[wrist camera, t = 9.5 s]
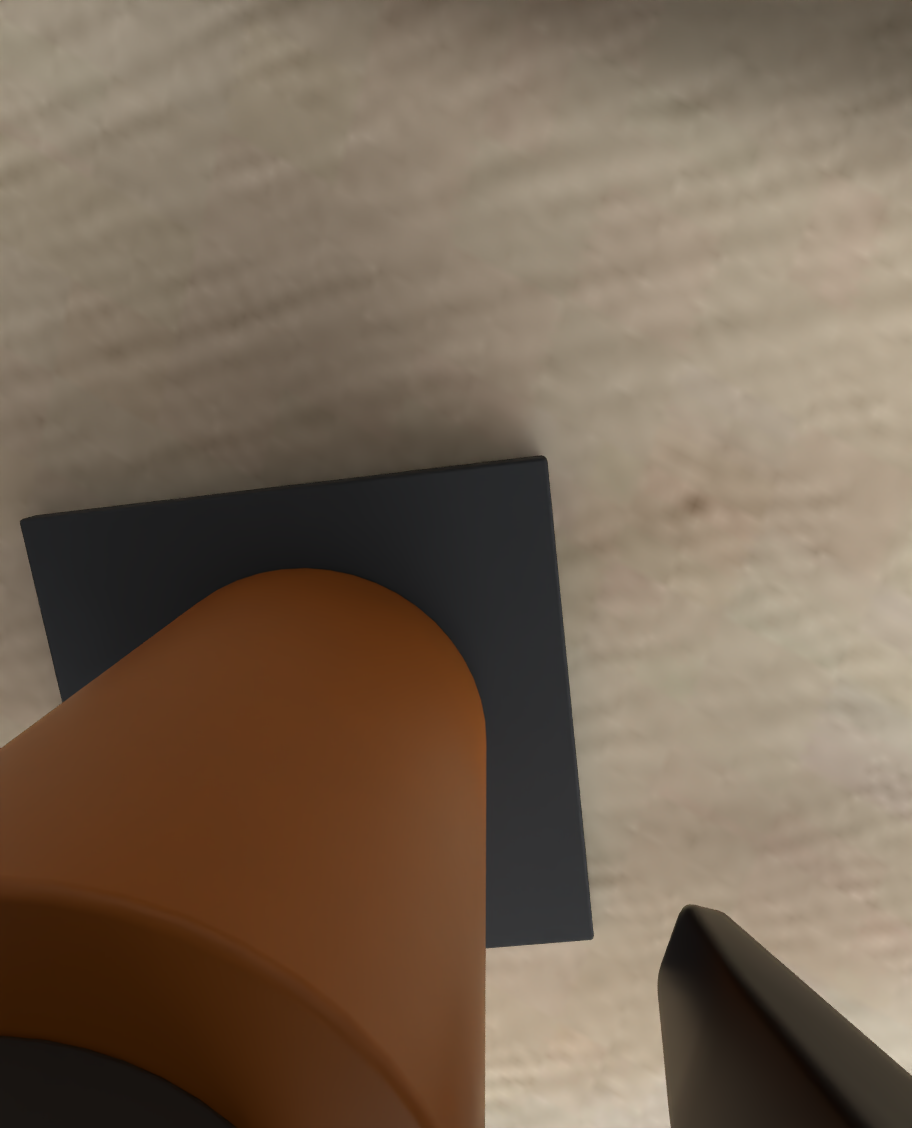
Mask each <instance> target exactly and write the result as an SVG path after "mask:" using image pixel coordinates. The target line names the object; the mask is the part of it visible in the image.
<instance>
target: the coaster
mask: <svg viewBox="0 0 912 1128" xmlns="http://www.w3.org/2000/svg"><path fill="white" fill-rule="evenodd" d="M20 525H21V529H22V533H23V537H24V542H25V546H26V550H27V554H28V559H29V563H30V567H31V571H32V576H33V580H34V584H35V588H36V593H37V597H38V601H39V605H40V609H41V614H42V618H43V622H44V626H45V631H46V635H47V639H48V643H49V648H50V652H51V656H52V660H53V665H54V669H55V673H56V677H57V681H58V686H59V690H60V694H61V698H62V703H63V702H64V701H66V700H67V699H68V698H70V697H71V696H72V695H74V694H75V693H76V692H78V691H79V690H80V689H82V688H83V687H84V686H86V685H87V684H89V683H90V682H91V681H93V680H94V679H95V678H97V677H98V676H99V675H101V674H102V673H103V672H105V671H106V670H107V669H109V668H110V667H112V666H113V665H114V664H116V663H117V662H118V661H120V660H121V659H122V658H124V657H125V656H126V655H128V654H129V653H130V652H132V651H133V650H134V649H136V648H137V647H139V646H140V645H141V644H143V643H144V642H145V641H147V640H148V639H149V638H151V637H152V636H153V635H155V634H156V633H157V632H159V631H160V630H162V629H163V628H164V627H166V626H167V625H168V624H170V623H171V622H172V621H174V620H175V619H176V618H178V617H179V616H180V615H182V614H183V613H184V612H186V611H187V610H189V609H190V608H191V607H193V606H194V605H195V604H197V603H198V602H200V601H201V600H203V599H204V598H206V597H207V596H209V595H210V594H212V593H213V592H215V591H216V590H218V589H220V588H222V587H224V586H227V585H229V584H231V583H233V582H235V581H237V580H240V579H243V578H246V577H249V576H253V575H256V574H259V573H264V572H270V571H275V570H281V569H298V568H311V569H323V570H332V571H336V572H341V573H346V574H351V575H355V576H357V577H360V578H363V579H366V580H369V581H372V582H375V583H377V584H379V585H381V586H383V587H385V588H387V589H389V590H391V591H393V592H395V593H397V594H399V595H400V596H402V597H403V598H405V599H406V600H408V601H409V602H411V603H412V604H414V605H415V606H417V607H418V608H419V609H420V610H422V611H423V612H424V613H425V614H426V615H427V616H428V617H430V618H431V619H432V620H433V621H434V622H435V623H436V624H437V625H438V626H439V627H440V628H441V629H442V631H443V632H444V633H445V634H446V635H447V636H448V637H449V638H450V640H451V641H452V642H453V644H454V645H455V647H456V648H457V650H458V651H459V653H460V654H461V656H462V657H463V659H464V660H465V662H466V664H467V666H468V668H469V670H470V672H471V674H472V676H473V678H474V681H475V684H476V687H477V690H478V693H479V696H480V699H481V702H482V707H483V713H484V718H485V726H486V948H495V947H507V946H520V945H532V944H545V943H557V942H569V941H582V940H591V939H593V936H594V933H593V923H592V913H591V903H590V892H589V882H588V872H587V862H586V851H585V841H584V831H583V821H582V810H581V800H580V790H579V780H578V769H577V759H576V749H575V739H574V728H573V718H572V708H571V698H570V687H569V677H568V667H567V657H566V647H565V636H564V626H563V616H562V606H561V595H560V585H559V575H558V565H557V554H556V544H555V534H554V524H553V513H552V503H551V493H550V483H549V472H548V462H547V459H546V458H545V456H542V455H541V456H533V457H524V458H516V459H507V460H499V461H491V462H482V463H474V464H465V465H457V466H448V467H440V468H432V469H423V470H415V471H406V472H398V473H389V474H381V475H372V476H364V477H356V478H347V479H339V480H330V481H322V482H313V483H305V484H296V485H288V486H280V487H271V488H263V489H254V490H246V491H237V492H229V493H221V494H212V495H204V496H195V497H187V498H178V499H170V500H161V501H153V502H145V503H136V504H128V505H119V506H111V507H102V508H94V509H85V510H77V511H69V512H60V513H52V514H43V515H35V516H32V517H28V518H25V519H22V520H21V521H20Z"/></svg>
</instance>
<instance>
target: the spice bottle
mask: <svg viewBox="0 0 912 1128" xmlns="http://www.w3.org/2000/svg"><path fill="white" fill-rule="evenodd" d="M485 956H486V726H485V718H484V713H483V707H482V702H481V699H480V696H479V693H478V690H477V687H476V684H475V681H474V678H473V676H472V674H471V672H470V670H469V668H468V666H467V664H466V662H465V660H464V659H463V657H462V656H461V654H460V653H459V651H458V650H457V648H456V647H455V645H454V644H453V642H452V641H451V640H450V638H449V637H448V636H447V635H446V634H445V633H444V632H443V631H442V629H441V628H440V627H439V626H438V625H437V624H436V623H435V622H434V621H433V620H432V619H431V618H430V617H428V616H427V615H426V614H425V613H424V612H423V611H422V610H420V609H419V608H418V607H417V606H415V605H414V604H412V603H411V602H409V601H408V600H406V599H405V598H403V597H402V596H400V595H399V594H397V593H395V592H393V591H391V590H389V589H387V588H385V587H383V586H381V585H379V584H377V583H375V582H372V581H369V580H366V579H363V578H360V577H357V576H355V575H351V574H346V573H341V572H336V571H332V570H323V569H311V568H298V569H281V570H275V571H270V572H264V573H259V574H256V575H253V576H249V577H246V578H243V579H240V580H237V581H235V582H233V583H231V584H229V585H227V586H224V587H222V588H220V589H218V590H216V591H215V592H213V593H212V594H210V595H209V596H207V597H206V598H204V599H203V600H201V601H200V602H198V603H197V604H195V605H194V606H193V607H191V608H190V609H189V610H187V611H186V612H184V613H183V614H182V615H180V616H179V617H178V618H176V619H175V620H174V621H172V622H171V623H170V624H168V625H167V626H166V627H164V628H163V629H162V630H160V631H159V632H157V633H156V634H155V635H153V636H152V637H151V638H149V639H148V640H147V641H145V642H144V643H143V644H141V645H140V646H139V647H137V648H136V649H134V650H133V651H132V652H130V653H129V654H128V655H126V656H125V657H124V658H122V659H121V660H120V661H118V662H117V663H116V664H114V665H113V666H112V667H110V668H109V669H107V670H106V671H105V672H103V673H102V674H101V675H99V676H98V677H97V678H95V679H94V680H93V681H91V682H90V683H89V684H87V685H86V686H84V687H83V688H82V689H80V690H79V691H78V692H76V693H75V694H74V695H72V696H71V697H70V698H68V699H67V700H66V701H64V702H63V703H62V704H60V705H59V706H57V707H56V708H55V709H53V710H52V711H51V712H49V713H48V714H47V715H45V716H44V717H43V718H41V719H40V720H39V721H37V722H36V723H34V724H33V725H32V726H30V727H29V728H28V729H26V730H25V731H24V732H22V733H21V734H20V735H18V736H17V737H16V738H14V739H13V740H12V741H10V742H9V743H7V744H6V745H5V746H3V747H2V748H1V749H0V1128H485Z"/></svg>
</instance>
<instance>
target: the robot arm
mask: <svg viewBox="0 0 912 1128" xmlns="http://www.w3.org/2000/svg"><path fill="white" fill-rule="evenodd" d="M658 1000H659V1011H660V1022H661V1032H662V1043H663V1053H664V1064H665V1075H666V1085H667V1096H668V1106H669V1115H670V1124H671V1128H912V1076H911V1075H910V1074H909V1073H908V1072H907V1071H906V1070H905V1069H903V1068H902V1067H901V1066H900V1065H899V1064H898V1063H896V1062H895V1061H894V1060H893V1059H892V1058H891V1057H890V1056H888V1055H887V1054H886V1053H885V1052H884V1051H883V1050H881V1049H880V1048H879V1047H878V1046H877V1045H876V1044H875V1043H873V1042H872V1041H871V1040H870V1039H869V1038H868V1037H867V1036H865V1035H864V1034H863V1033H862V1032H861V1031H860V1030H858V1029H857V1028H856V1027H855V1026H854V1025H853V1024H852V1023H850V1022H849V1021H848V1020H847V1019H846V1018H845V1017H843V1016H842V1015H841V1014H840V1013H839V1012H838V1011H837V1010H835V1009H834V1008H833V1007H832V1006H831V1005H830V1004H829V1003H827V1002H826V1001H825V1000H824V999H823V998H822V997H820V996H819V995H818V994H817V993H816V992H815V991H814V990H812V989H811V988H810V987H809V986H808V985H807V984H805V983H804V982H803V981H802V980H801V979H800V978H799V977H797V976H796V975H795V974H794V973H793V972H792V971H791V970H789V969H788V968H787V967H786V966H785V965H784V964H782V963H781V962H780V961H779V960H778V959H777V958H776V957H774V956H773V955H772V954H771V953H770V952H769V951H767V950H766V949H765V948H764V947H763V946H762V945H761V944H759V943H758V942H757V941H756V940H755V939H754V938H753V937H751V936H750V935H749V934H748V933H747V932H746V931H744V930H743V929H742V928H741V927H740V926H739V925H738V924H736V923H735V922H734V921H733V920H732V919H731V918H729V917H728V916H727V915H726V914H725V913H723V912H720V911H717V910H713V909H709V908H705V907H701V906H697V905H691V904H689V905H687V906H685V907H684V908H683V909H682V910H681V912H680V913H679V916H678V918H677V921H676V924H675V926H674V929H673V932H672V935H671V938H670V941H669V943H668V946H667V949H666V952H665V955H664V957H663V960H662V963H661V966H660V970H659V975H658Z"/></svg>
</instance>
